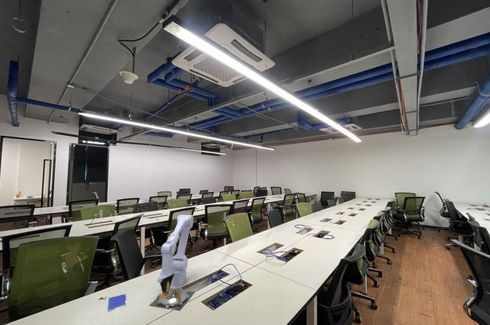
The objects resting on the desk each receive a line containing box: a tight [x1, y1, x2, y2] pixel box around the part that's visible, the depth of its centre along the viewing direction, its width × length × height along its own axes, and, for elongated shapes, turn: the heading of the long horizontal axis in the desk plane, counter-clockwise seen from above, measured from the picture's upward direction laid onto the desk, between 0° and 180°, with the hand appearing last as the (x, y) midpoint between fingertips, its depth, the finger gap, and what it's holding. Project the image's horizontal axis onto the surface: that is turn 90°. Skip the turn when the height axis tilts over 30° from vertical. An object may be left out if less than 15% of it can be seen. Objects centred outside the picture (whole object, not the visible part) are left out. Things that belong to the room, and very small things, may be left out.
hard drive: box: [107, 293, 127, 313], centre depth 108 cm, size 2×8×12 cm
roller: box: [162, 281, 169, 294], centre depth 114 cm, size 3×3×6 cm
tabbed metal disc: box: [156, 286, 191, 308], centre depth 112 cm, size 18×18×5 cm
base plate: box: [148, 287, 196, 312], centre depth 112 cm, size 18×18×1 cm
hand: (165, 289), depth 113 cm, fingers closed on roller, 3 cm apart
